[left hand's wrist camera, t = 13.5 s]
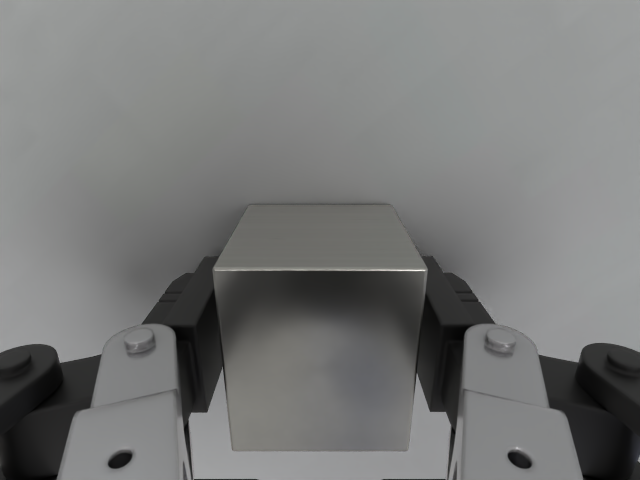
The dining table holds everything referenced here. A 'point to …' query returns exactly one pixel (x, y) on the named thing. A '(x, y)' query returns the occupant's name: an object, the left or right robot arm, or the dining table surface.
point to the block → (320, 328)
